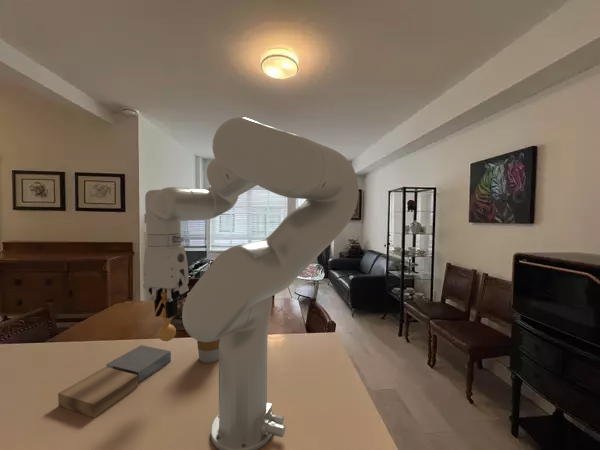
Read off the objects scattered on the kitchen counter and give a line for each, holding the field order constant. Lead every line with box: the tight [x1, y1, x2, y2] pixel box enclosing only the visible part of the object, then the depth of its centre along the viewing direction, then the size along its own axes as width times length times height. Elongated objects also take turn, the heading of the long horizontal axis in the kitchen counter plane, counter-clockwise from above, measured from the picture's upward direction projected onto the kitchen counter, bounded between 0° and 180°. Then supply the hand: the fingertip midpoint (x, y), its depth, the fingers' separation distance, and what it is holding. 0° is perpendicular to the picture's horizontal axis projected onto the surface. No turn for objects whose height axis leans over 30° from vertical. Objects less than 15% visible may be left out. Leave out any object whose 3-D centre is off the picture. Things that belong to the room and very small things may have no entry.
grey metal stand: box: [105, 344, 172, 384], centre depth 78 cm, size 11×11×3 cm
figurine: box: [153, 291, 177, 342], centre depth 69 cm, size 8×6×12 cm
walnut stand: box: [57, 366, 139, 418], centre depth 67 cm, size 11×11×3 cm
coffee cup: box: [196, 339, 220, 364], centre depth 84 cm, size 8×8×15 cm
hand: (166, 314), depth 69 cm, fingers closed on figurine, 2 cm apart
